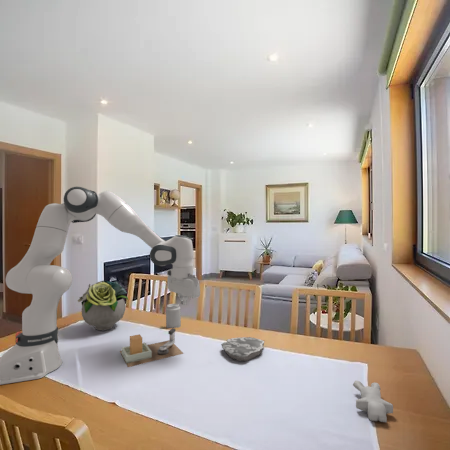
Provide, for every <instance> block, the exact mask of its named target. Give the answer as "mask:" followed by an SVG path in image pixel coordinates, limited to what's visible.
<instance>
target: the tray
mask: <svg viewBox="0 0 450 450" xmlns="http://www.w3.org/2000/svg"><path fill="white" fill-rule="evenodd" d="M147 345H148V344H147V343H146V342H142V353H137V354H133V355H130V345H128V346H122V347H121V351H122V355H121V357H122V356H123V357H122V359H123V358H124V359H123V360H125V361H124V363H125V362H126V363H125V365H126V364H127V363H131V362H135V361H139V360H143V359H147V358H152V351H151V350H150V348H149V347H148V346H147Z"/></svg>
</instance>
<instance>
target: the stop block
mask: <svg viewBox="0 0 450 450" xmlns="http://www.w3.org/2000/svg"><path fill="white" fill-rule="evenodd" d="M142 343H143V337H142V335H141V334H133V335H130V336H129V346H130V355H133V354H137V353H142Z"/></svg>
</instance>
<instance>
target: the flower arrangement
mask: <svg viewBox="0 0 450 450" xmlns="http://www.w3.org/2000/svg"><path fill="white" fill-rule="evenodd" d="M127 294H128V292H127V291H126V288H124V287H123V286H122V285H121V284H119V283H118V281H114V282H113V281H109V280H108V281H107V280H99V281H97V282H95V283H93V284H92V285H91V284H90V283H89V284H88V286H87V289H86V291H85V292H84V293H82V296H80V297H79V299H78V300H77V302H78V303H80V302H81V317H82V319H83V321H84V322H85V323H86V324H88V325H89V326H91V327H94V329H96V331H107V330H111V329H112V328H113V327H114V325H115V324H117V323H119V321H121V320H122V319H123V317H124V315H125V312H126V301H125V299H126V300H127V301H130V300H129V298H128V296H126V295H127Z"/></svg>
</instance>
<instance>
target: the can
mask: <svg viewBox="0 0 450 450" xmlns="http://www.w3.org/2000/svg"><path fill="white" fill-rule="evenodd" d="M181 313H182V312H181V306H180V303H170V304H167V305H166V308H165V328H166V329H172V328H174V329H177V328H178V329H179V328H181V326H182V325H181V324H182V323H181V322H182V320H181V319H182V318H181V316H182V314H181Z"/></svg>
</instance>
